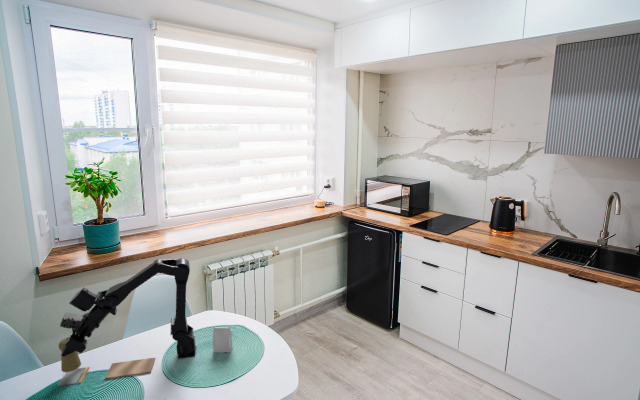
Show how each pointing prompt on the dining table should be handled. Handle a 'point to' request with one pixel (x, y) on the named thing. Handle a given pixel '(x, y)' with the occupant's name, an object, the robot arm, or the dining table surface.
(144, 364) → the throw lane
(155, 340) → the dining table surface
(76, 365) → the cork
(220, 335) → the grey rectangular block
